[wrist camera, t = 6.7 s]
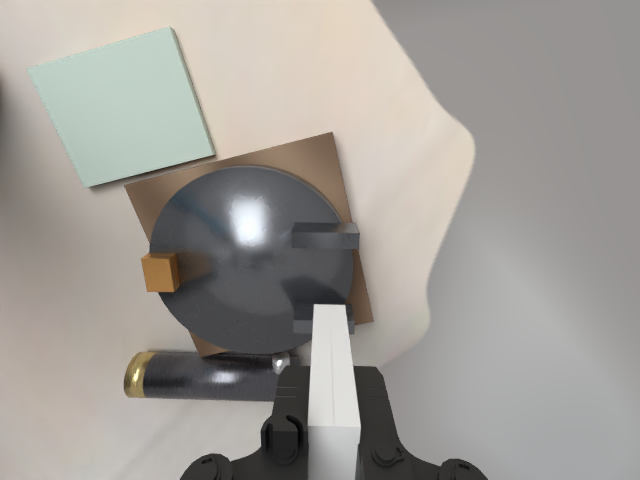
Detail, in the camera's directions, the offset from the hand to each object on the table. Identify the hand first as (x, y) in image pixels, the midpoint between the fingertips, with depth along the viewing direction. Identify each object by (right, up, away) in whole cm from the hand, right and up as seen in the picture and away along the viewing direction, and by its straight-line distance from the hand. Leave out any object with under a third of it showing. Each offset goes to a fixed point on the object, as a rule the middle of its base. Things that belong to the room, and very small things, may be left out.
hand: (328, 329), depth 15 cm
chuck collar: (-5, +3, +8) cm, 10 cm away
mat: (-14, +13, +7) cm, 20 cm away
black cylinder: (-16, -7, +12) cm, 21 cm away
